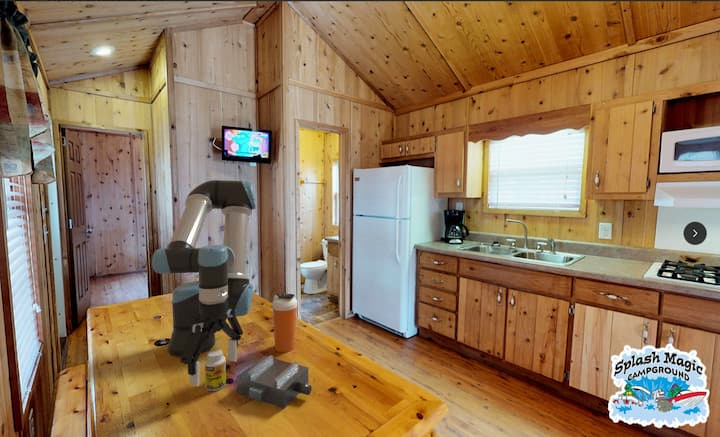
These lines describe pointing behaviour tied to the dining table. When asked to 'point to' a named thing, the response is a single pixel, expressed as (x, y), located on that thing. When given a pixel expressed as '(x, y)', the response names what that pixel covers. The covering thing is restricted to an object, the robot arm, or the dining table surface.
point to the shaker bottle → (284, 321)
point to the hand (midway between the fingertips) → (215, 371)
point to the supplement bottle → (215, 370)
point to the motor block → (274, 381)
